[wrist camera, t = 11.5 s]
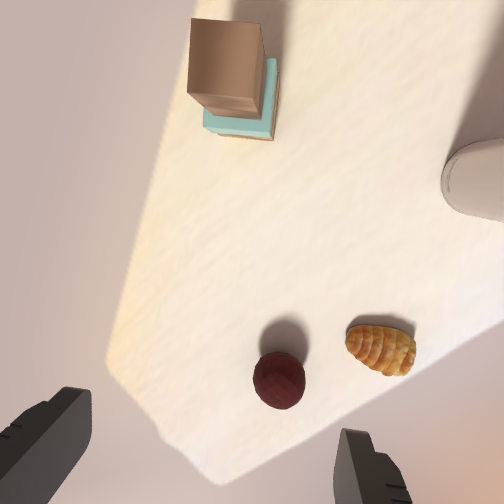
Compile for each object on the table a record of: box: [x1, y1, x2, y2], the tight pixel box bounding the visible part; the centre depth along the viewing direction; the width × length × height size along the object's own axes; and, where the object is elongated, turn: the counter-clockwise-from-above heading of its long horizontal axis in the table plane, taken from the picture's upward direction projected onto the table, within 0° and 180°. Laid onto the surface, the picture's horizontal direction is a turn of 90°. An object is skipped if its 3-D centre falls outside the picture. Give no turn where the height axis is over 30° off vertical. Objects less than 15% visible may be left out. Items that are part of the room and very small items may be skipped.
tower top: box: [203, 58, 277, 138], centre depth 37 cm, size 7×7×5 cm
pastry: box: [345, 325, 416, 376], centre depth 48 cm, size 9×7×4 cm
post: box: [187, 18, 267, 120], centre depth 30 cm, size 5×5×10 cm
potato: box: [253, 352, 306, 410], centre depth 49 cm, size 7×8×7 cm
